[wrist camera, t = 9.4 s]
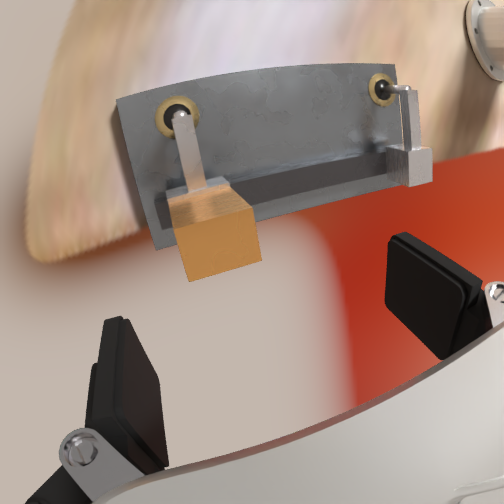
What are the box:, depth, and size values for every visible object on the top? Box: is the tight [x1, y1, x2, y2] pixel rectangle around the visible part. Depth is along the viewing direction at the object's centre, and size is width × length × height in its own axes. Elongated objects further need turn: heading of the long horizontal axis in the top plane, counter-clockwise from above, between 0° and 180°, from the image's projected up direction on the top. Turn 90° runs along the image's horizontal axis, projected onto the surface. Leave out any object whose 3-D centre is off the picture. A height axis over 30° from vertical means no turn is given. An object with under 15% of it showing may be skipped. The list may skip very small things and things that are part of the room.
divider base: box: [116, 63, 432, 250], centre depth 23 cm, size 24×12×6 cm, turn 101°
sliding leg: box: [166, 111, 262, 282], centre depth 19 cm, size 4×9×8 cm, turn 11°
